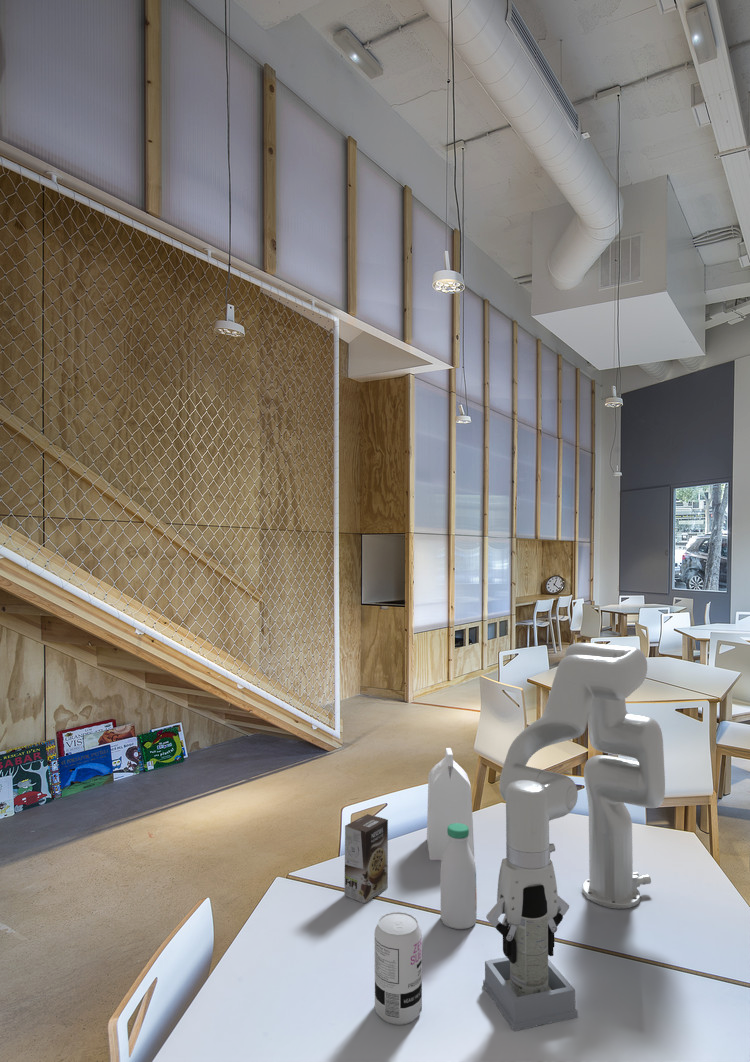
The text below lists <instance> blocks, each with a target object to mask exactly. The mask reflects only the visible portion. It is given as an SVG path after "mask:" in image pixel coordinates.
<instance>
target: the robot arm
mask: <svg viewBox="0 0 750 1062" xmlns="http://www.w3.org/2000/svg"><path fill="white" fill-rule="evenodd" d="M555 671H556V672H555V674H554V678H553V681H552V683H551V684H552V685H551V689H550V691H549V694H548V698H547V701H546V704H545V708H544V712H543V714H542V715H541V716H540V717H539V718H538V719H537V720H535V721H533V722H532V723H530V724H529V725H528V726H527V727H525V728H524V730H522V731H521V732H520V733H519V734H518V735H517V736H516V737H515V738H514V740H512V742H511V744H510V746H509V748H508V751H507V754H506V757H505V760H504V762H503V766H502V769H501V773H500V778H499V793H500V796H501V797H502V799H503V800H504V801H505V825H506V826H505V828H506V829H505V833H506V834H505V837H506V838H505V840H506V841H505V845H506V847H505V848H506V849H505V851H506V853H505V854H506V857H505V858H502V860H501V864H500V868H499V874H498V881H497V891H496V892H497V895H496V896H497V897H496V904H494V906H493V907H492V908H491V910H489V912H488V913H487V914H486V917H485V918H486V919H487V921H488V922H489V923H490V924H491V926H493V927H494V929H496V930H497V931H498V933H500V934H501V935H502V951H503V954H504V957H507V958H508V959H509V960H510V962H511V963H512V964H514V963H515V962H516V941H515V939H514V938H513V937H514V934H515V931H516V929H517V925H519V924H520V923H521V915H522V906H523V889H524V888H526V887H534V886H540V885H543V886H544V888H545V896H546V900H547V914H548V957H553V956H554V948H555V933H557V931H558V926H559V925H560V924H561V922H562V921H563V919H564V916H565V915H566V914H567V912H568V911H569V909H570V904H569V903H568V902H566V901H565V900H564V899H563V898H562V897H561V896H560V895H558V887H557V886H558V884H557V878H556V873H555V868H554V864H553V861H552V859H551V853H552V852H556V846H555V843H550V822H551V821H553V820H555V819H559V818H564V817H565V816H566V815H569V814H570V813H571V812H572V811H573V810H574V809H575V807H576V805H577V802H578V798H579V797H578V795H579V794H578V787H577V785H576V782H575V781H574V780H573V779H572V778H571V777H569V776H567V775H565V774H562V773H559V772H556V771H555V772H554V771H550V770H545V769H541V768H536V767H533V766H529V765H528V762H529V761H530V760H531V758H532V757H533V755H534V754H536V753H537V752H538V751H540V750H542V749H544V748H546V747H548V746H552V745H555V744H559V743H563V742H567V741H570V740H574V739H577V738H579V737H581V736H583V734H584V733H585V732H586V729H588V730H587V731H588V738H589V743H590V745H591V747H592V748H593V749H595V750H596V751H598V752H601V753H605V754H609V755H604V754H597V755H592V756H591V757H590V758H588V759H587V760H586V761H585V764H584V768H583V778H584V779H583V781H584V786H585V791H586V795H587V805H588V806H587V808H588V866H589V868H588V871H589V873H588V874H589V876H588V878H587V879H586V880H584V882H583V883H582V892H583V895H584V896H585V897H586V898H587V899H588V900H590V901H591V902H593V903H595V904H597V905H600V906H603V907H606V908H612V909H629V908H633V907H636V906H637V905H638V904H639V903H640V901H641V893H640V891H639V889H638V888H640V886H642V885H643V886H644V885H645V886H646V885H649V884H650V885H651V883H652V879H651V876H650V875H649V874H643V875H639V872H638V871H633V870H634V869H633V867H634V865H633V862H634V861H633V860H634V859H633V856H634V855H633V820H632V817H631V813H630V811H629V810H628V808H627V806H626V805H625V804H628V805H632V806H637V807H641V808H646V809H657V808H659V807H660V806H661V805H662V804H663V802H664V800H665V794H666V776H665V773H666V772H665V754H664V739H663V732H662V728H661V726H660V724H659V723H658V721H656V720H655V719H654V718H652V717H649V716H645V715H640V714H633V713H629V712H628V711H627V705H626V698H627V699H628V698H629V696H631V695H632V694H633V693H635V691H636V690H637V689H639V688H640V687H641V685H643V683H644V681H645V679H646V677H647V673H648V661H647V657H646V655H645V653H644V651H642V650H641V649H639V648H638V647H634V646H633V647H632V646H624V645H623V646H622V645H614V644H613V645H612V644H602V643H592V642H591V643H590V642H576V643H572V644H570V645H568V647H567V648H566V650H565V655H564V657H563V658H562V659H561V660H560V661H559V663H558V665H557V669H556V670H555ZM612 755H613V756H612ZM617 756H620V757H617ZM624 757H625V758H624ZM627 758H630V759H627ZM632 759H635V760H632ZM527 765H528V766H527ZM502 914H504V916H503V917H504V918H503V920H502V922H501V921H500V920H499V918H500V917H501V915H502Z"/></svg>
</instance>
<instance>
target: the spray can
mask: <svg viewBox="0 0 750 1062" xmlns="http://www.w3.org/2000/svg"><path fill="white" fill-rule="evenodd" d="M513 938H514V939H515V941H516V962H515V963H514V964H512V963H511V962H510V988H511V990H512V991H513V992H514V994H515V995H516V996H517V997H521V996H526V995H530V994H535V993H540V992H545V991H548V959H549V955H548V914H547V900H546V896H545V888H544V886H543V885H540V886H534V887H526V888H524V889H523V906H522V915H521V923H520V924H519V925H517V929H516V931H515V934H514V937H513Z"/></svg>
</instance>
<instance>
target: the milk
mask: <svg viewBox="0 0 750 1062" xmlns="http://www.w3.org/2000/svg"><path fill="white" fill-rule="evenodd" d="M444 753H445V754H444V757H443V758H442V759H441V760H440V761H438V763H436V764H435V765H434V766H433V767H432V768H431V770H430V771H429V773H428V777H427V781H428V783H427V785H428V786H427V787H428V788H427V812H426V813H427V816H426V817H427V820H426V842H427V851H428V856H429V860H430V861H442V857H443V854H444V852H445V850H446V848H447V845H448V841H449V838H448V833H447V828H448V826H449V825H450V824H453V823H461V824H465V825H466V826H468V828H469V835H468V836H469V838H468V844H469V848H470V850H471V853H472V855H473V857H474V858H475V843H474V842H475V840H474V821H473V800H472V799H473V798H472V788H471V786H472V785H471V782H470V779H469V775H468V773H467V771H465V770H464V768H462V766H460V765H459V764H458V762H456V761H455V759H454V754H453V751H452V748H451V747H446V748H445V752H444Z"/></svg>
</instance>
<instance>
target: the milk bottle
mask: <svg viewBox="0 0 750 1062" xmlns="http://www.w3.org/2000/svg"><path fill="white" fill-rule="evenodd" d="M447 833H448V838H449V841H448V845H447V848H446V850H445V852H444V854H443V857H442V860H440V919H441V922H442V923H443V924H444V925H445V926H447V927H449V928H451V929H455V930H466V929H467V930H468V929H470V928H471V927H473V926H475V924H476V922H477V915H478V914H477V913H478V912H477V911H478V910H477V908H478V907H477V903H478V901H477V899H478V898H477V866H476V861H475V856H474V857H473V855H472V853H471V850H470V848H469V844H468V838H469V836H468V835H469V828H468V826H466V825H465V824H461V823H453V824H450V825H449V826H448V828H447Z"/></svg>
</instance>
